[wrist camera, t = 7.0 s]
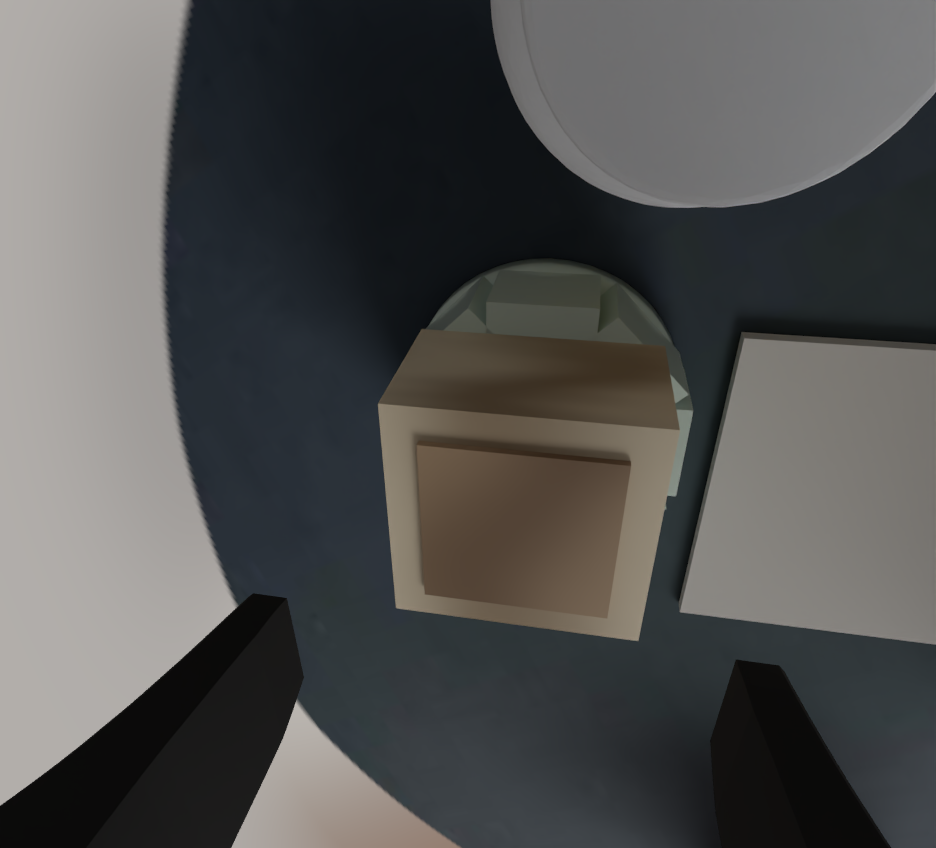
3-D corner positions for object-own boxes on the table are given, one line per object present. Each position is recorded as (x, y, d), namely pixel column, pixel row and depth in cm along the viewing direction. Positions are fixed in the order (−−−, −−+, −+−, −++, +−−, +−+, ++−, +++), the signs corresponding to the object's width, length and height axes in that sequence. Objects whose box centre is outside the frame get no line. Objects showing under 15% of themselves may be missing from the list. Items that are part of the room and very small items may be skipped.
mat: (1185, 360, 16) (1197, 367, 15) (1004, 643, 21) (1011, 653, 20) (741, 332, 17) (744, 338, 17) (678, 603, 22) (679, 612, 22)
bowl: (701, 265, 16) (719, 311, 14) (657, 499, 20) (665, 568, 18) (412, 251, 17) (379, 291, 15) (424, 475, 21) (400, 537, 19)
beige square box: (664, 346, 14) (680, 435, 11) (632, 535, 17) (638, 647, 14) (421, 328, 15) (375, 407, 12) (429, 512, 18) (394, 613, 15)
